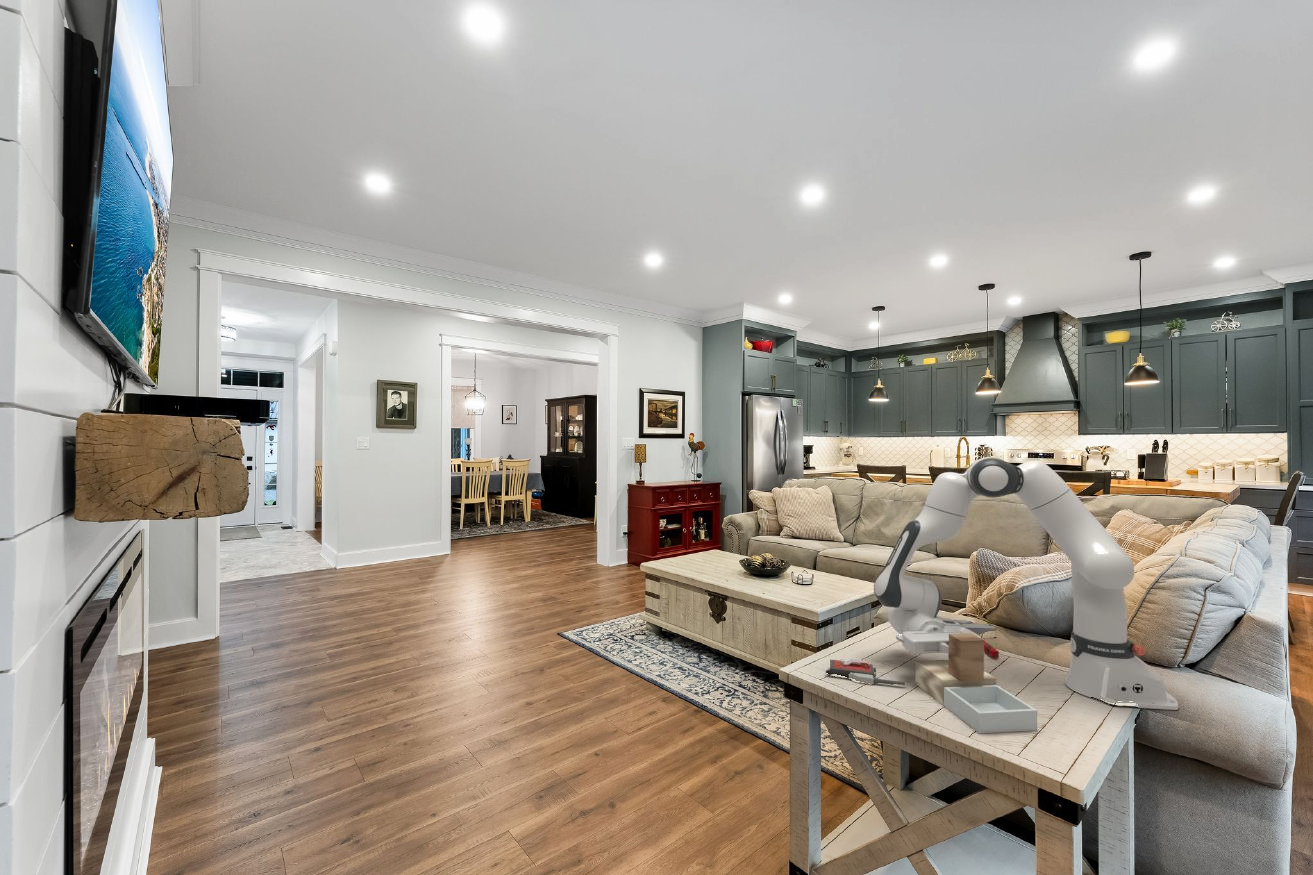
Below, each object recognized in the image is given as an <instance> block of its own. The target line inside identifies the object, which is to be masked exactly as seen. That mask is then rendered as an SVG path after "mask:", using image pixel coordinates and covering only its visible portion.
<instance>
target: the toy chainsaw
mask: <svg viewBox="0 0 1313 875" xmlns="http://www.w3.org/2000/svg"><path fill="white" fill-rule="evenodd" d="M826 673H828V674H837V675H841V676H845V677H847V678H852V679H855V680H856V681H860V682H864V683H870V684H873V685H874V684H884V685H898V686H899V685H901V686H906V683H905V682H904V681H900V680H899V681H898V680H891V679H883V678H882V679H881V678H878V677H875V676H877V667H874V665H873V664H872V663H869V661H868V660H865V659H857V658H852V659H849V660H844V658H841V659H840V660H838V659H829V669H826V670H825V674H826ZM828 674H827V675H828Z"/></svg>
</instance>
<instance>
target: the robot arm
mask: <svg viewBox="0 0 1313 875" xmlns="http://www.w3.org/2000/svg"><path fill="white" fill-rule="evenodd" d="M1013 494H1014V495H1016V496H1017V497H1018V498H1019V499H1020V500H1021V501H1022V502H1023V503H1024V504H1025V506H1026V507H1027V508H1028V509H1029V511H1030V512H1031V513H1032V514H1033V516H1034V517H1035V518H1036V520H1037V521H1038V522H1039V524H1040V525H1041V526H1042V527H1043V529H1044V530H1045V531H1046V532H1047V534H1048V535H1049V536H1050V537H1051V539H1052V540H1053V541H1054V542H1055V543H1056V545H1057V546H1058V547H1059V548H1060V550H1061V551H1062V553H1064V555H1065V556H1066V557H1067V559H1068V560H1069V561H1070V569H1071V571H1070V572H1071V586H1072V587H1071V588H1072V596H1073V626H1072V627H1073V628H1072V631H1071V632H1070V633H1071V634H1070V636H1071V637H1070V652H1071V658H1070V666H1069V669H1068V673H1067V676H1066V678H1065V680H1064V683H1065V685H1066V686H1067V688H1069V689H1071V690H1072V691H1075V693H1078V694H1080V695H1083V696H1086V697H1088V698H1091V697H1095V698H1097V699H1102V700H1104V701H1107V702H1110V703H1136V704H1138V708H1139V709H1150V710H1151V709H1152V710H1153V709H1154V710H1170V711H1177V710H1179V708H1180V706H1179V702H1178V701H1177V699H1176V698H1175V697H1174V696H1173V695H1172V694H1171V693H1169V692H1168V691H1167V689H1166V685H1165V682H1164V680H1163V678H1162V676H1161V675H1160V674H1159V673H1158V672H1157V671H1156V670H1154V669H1153V667H1151V666H1150V665H1148V663H1146V662H1144V661H1143V660H1142V659H1140V657H1138V656H1144V654H1145V653H1146V651H1145V649H1144V648H1143V647H1142V646H1140V645H1139V644H1135V643H1134V642H1132V641H1131V640H1129V639H1128V608H1127V601H1126V595H1125V587H1128V585H1130V584H1131V583H1132V582H1133V580H1134V577H1135V565H1134V563H1133V561H1132V559H1131V557H1130V555H1128V554H1127V552H1126V551H1125V550H1124V549H1123V547H1121V545H1120V544H1119V543H1118V542H1117V541H1116V539H1114V537H1113V536H1112V535H1111V534H1110V532H1109V531H1107V529H1106V528H1105V527H1104V526H1103V525H1102V524H1101V522H1099V520H1098V519H1097V518H1095V515H1093V514H1092V512H1090V510H1089V509H1088V508H1087V506H1086V505H1085V504H1084V503H1083V502H1082V500H1081V499H1080V498H1079V497H1078V496H1077V495H1076V493H1075V492H1074V491H1073V490H1072V488H1071V487H1070V486H1069V485H1068V484H1067V483H1066V482H1065V480H1064V479H1063V478H1062V477H1061V476H1060V475H1059V474H1058V473H1057V472H1056V471H1054V470H1053V469H1052V468H1051V467H1050V466H1049V465H1047V464H1046V463H1045V462H1043V461H1042V460H1041V461H1040V460H1029V461H1025V462H1023V463H1021V464H1019V465H1014V464H1012V463H1010V462H1007V461H1006V460H1003V459H1000V458H998V457H993V456H985V457H982V458H979V459H977V460H975V461H974V462H973V463H971V464H970V465H969V466H968V467H967V468H966V469H965V470H964V471H962V472H961V473H959V472H952V471H947V472H943V473H940V474H939V475H938V476H937V477H936V478H935V480H934V482H933V483H932V485H931V488H930V490H929V492H928V495H927V497H926V499H925V503H924V505H923V509H921V512H920V513H919V514H918V516H917V517H916V518H915V519H914V520H912V521H911V520H910V521H909V522H908V523H907V524H906V525H905V527H904V528H903V530H902V532H901V534H900V535H899V537H898V539H897V541H896V544H895V545H894V547H893V549H892V551H891V553H890V555H889V557H888V560H887V561H886V563H885V565H884V567H883V568H882V570H881V571H880V573H879V574H878V575H877V577H876V579H875V581H874V584H873V593H874V595H875V597H876V599H877V601H879V602H878V603H879V604H880V605H882V606H883V607H886V608H887V607H888V608H889V610H888V613H887V614H888V615H887V618H888V622H889V624H890V626H891V627H892V628H893V629H894V631H896V632H897V634H896V635H895V638H896V640H897V641H899V642H900V643H901V645H902V646H903V648H904V649H905V650H907V651H908V653H911V654H915V655H919V654H920V655H921V654H922V655H923V654H925V655H926V654H946V655H948V652H949V634H959V633H972V634H974V635H975V636H977V637H979V638H981V637H980V636H979V635H978V634H976V633H974V632H972V631H971V630H969V629H966V628H964V627H960V624H959V623H957V622H953V621H945V620H939V619H936V618H935V617H936V616H938V614H939V612H940V609H941V606H942V593H941V591H940V589H939V587H938V585H937V584H936V583H935V581H933V580H929V579H925V578H920V577H915V576H911V575H907V574H905V572H906V570H907V568H908V567H909V564H910V562H911V560H912V558H913V556H914V553H915V552H916V551H917V550H918V549H920V548H921V547H922V546H925V545H929V544H935V543H942V542H946V541H950V540H953V539H955V537H957V536H958V535H959V534H960V533H961V532H962V529H963V527H964V525H965V522H966V518H967V514H968V511H969V508H970V505H971V504H972V502H973V501H974V499H975V498H977V497H979V496H980V497H981V496H982V497H986V498H1002V497H1005V496H1009V495H1013ZM981 639H983V638H981ZM1097 699H1096V700H1097ZM1117 701H1122V702H1117ZM1129 701H1133V702H1129Z"/></svg>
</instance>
